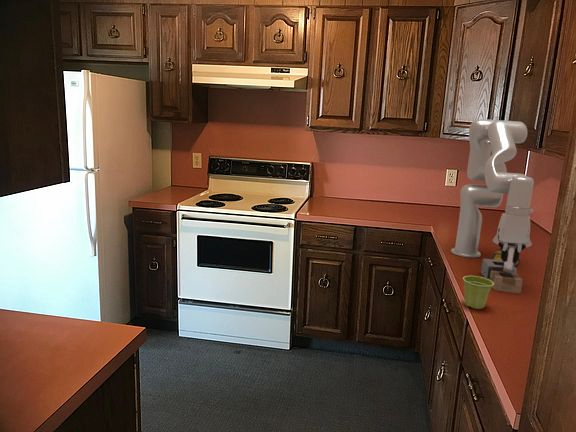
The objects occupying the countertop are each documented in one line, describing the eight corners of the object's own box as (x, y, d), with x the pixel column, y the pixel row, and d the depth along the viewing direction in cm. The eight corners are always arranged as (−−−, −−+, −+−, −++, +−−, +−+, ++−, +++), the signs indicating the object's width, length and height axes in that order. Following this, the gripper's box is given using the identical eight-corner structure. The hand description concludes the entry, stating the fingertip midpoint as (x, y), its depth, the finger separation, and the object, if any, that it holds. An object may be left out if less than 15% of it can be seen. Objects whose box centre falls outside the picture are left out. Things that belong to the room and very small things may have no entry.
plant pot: (482, 300, 167) (486, 276, 165) (494, 312, 157) (499, 286, 156) (455, 299, 166) (458, 275, 164) (465, 310, 157) (469, 285, 155)
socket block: (480, 272, 197) (482, 258, 195) (507, 275, 195) (509, 261, 194) (486, 281, 187) (488, 266, 186) (514, 284, 186) (516, 269, 184)
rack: (488, 283, 185) (491, 270, 184) (514, 285, 184) (516, 273, 183) (494, 290, 177) (496, 277, 176) (520, 293, 176) (522, 280, 175)
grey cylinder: (500, 276, 181) (505, 245, 179) (509, 277, 181) (514, 246, 178) (502, 279, 178) (508, 247, 176) (511, 280, 178) (516, 248, 175)
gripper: (538, 211, 177) (529, 260, 181) (490, 207, 179) (482, 256, 183) (545, 215, 169) (536, 267, 173) (495, 211, 172) (487, 262, 176)
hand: (509, 260), depth 178 cm, fingers closed on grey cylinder, 3 cm apart
